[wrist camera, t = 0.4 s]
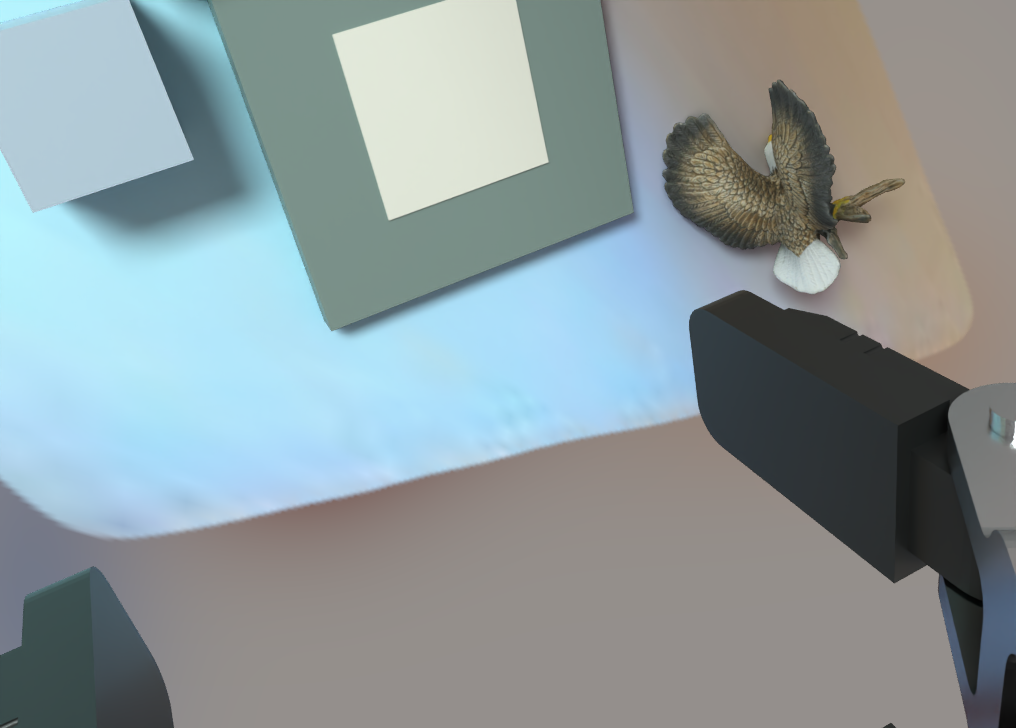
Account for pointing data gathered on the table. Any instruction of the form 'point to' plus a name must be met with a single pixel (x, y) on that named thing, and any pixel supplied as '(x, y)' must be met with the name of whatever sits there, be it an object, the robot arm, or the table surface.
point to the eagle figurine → (768, 191)
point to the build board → (427, 135)
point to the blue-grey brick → (82, 103)
